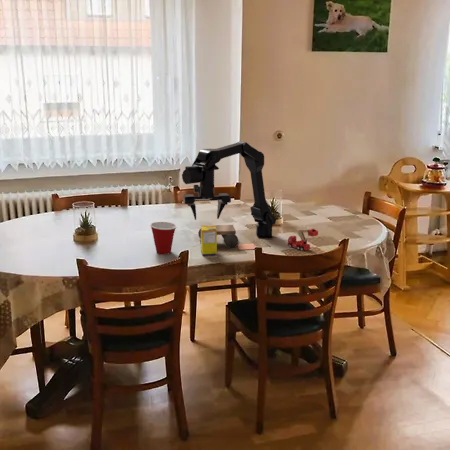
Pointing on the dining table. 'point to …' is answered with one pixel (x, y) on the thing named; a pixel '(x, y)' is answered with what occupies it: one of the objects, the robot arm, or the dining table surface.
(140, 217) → the dining table surface
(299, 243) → the toy fire truck
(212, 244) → the supplement box
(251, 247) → the thin pink plate
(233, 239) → the wooden toy car
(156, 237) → the plastic cup
